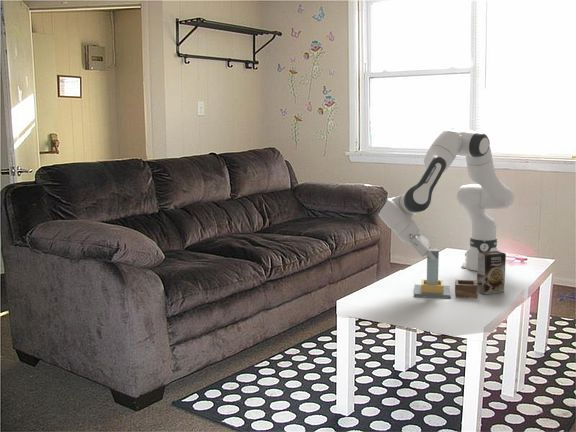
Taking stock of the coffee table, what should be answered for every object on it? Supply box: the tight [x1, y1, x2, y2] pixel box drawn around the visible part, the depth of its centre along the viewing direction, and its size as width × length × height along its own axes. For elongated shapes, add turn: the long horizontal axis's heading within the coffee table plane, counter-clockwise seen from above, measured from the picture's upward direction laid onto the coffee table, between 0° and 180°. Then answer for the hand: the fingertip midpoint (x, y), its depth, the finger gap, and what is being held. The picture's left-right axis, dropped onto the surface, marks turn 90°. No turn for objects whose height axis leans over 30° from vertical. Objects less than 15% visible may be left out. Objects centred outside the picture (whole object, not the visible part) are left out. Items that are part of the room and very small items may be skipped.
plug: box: [426, 248, 440, 285], centre depth 255 cm, size 4×4×15 cm
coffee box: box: [476, 251, 507, 295], centre depth 255 cm, size 9×6×16 cm
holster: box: [454, 279, 478, 299], centre depth 252 cm, size 8×8×5 cm
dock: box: [413, 279, 451, 299], centre depth 256 cm, size 14×14×4 cm
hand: (434, 257), depth 254 cm, fingers closed on plug, 4 cm apart
